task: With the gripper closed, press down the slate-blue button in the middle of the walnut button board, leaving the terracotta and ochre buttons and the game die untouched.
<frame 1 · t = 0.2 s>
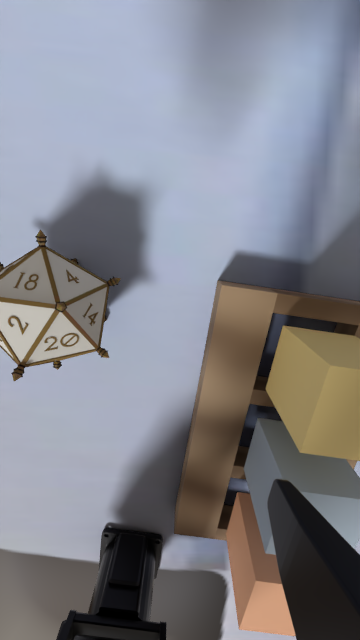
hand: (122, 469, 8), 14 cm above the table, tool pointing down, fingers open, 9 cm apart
button board: (269, 421, 24), on the table
game die: (76, 296, 21), on the table
button ochre: (331, 385, 15), point 6 cm above the table, slide at 0.0 cm
button terracotta: (270, 557, 20), point 6 cm above the table, slide at 0.0 cm
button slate: (297, 482, 18), point 6 cm above the table, slide at 0.0 cm
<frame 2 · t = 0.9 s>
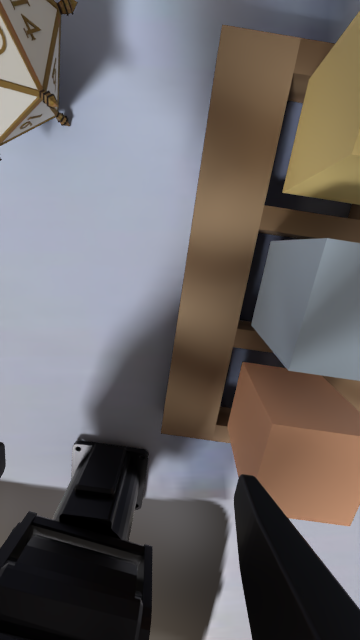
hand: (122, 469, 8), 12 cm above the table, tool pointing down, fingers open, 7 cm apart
button board: (282, 283, 18), on the table
game die: (28, 92, 16), on the table
button terracotta: (288, 431, 14), point 6 cm above the table, slide at 0.0 cm
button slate: (329, 301, 12), point 6 cm above the table, slide at 0.0 cm
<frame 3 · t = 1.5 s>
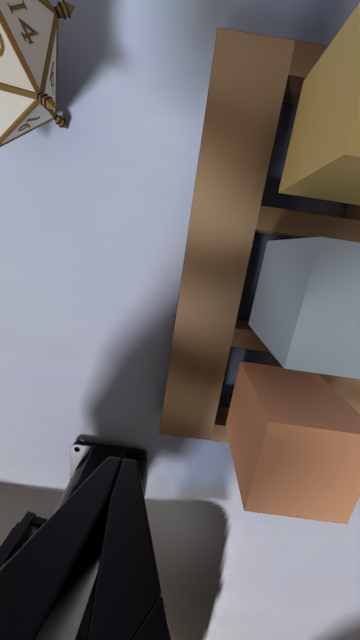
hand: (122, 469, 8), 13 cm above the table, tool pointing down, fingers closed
button board: (279, 283, 18), on the table
game die: (26, 95, 16), on the table
button terracotta: (285, 430, 14), point 6 cm above the table, slide at 0.0 cm
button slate: (325, 300, 12), point 6 cm above the table, slide at 0.0 cm
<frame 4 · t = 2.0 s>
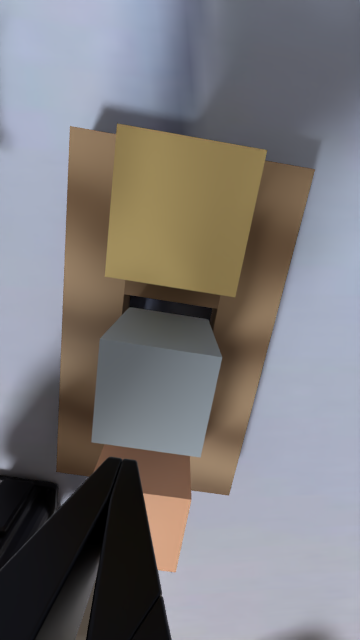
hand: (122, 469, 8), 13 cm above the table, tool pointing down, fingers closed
button board: (166, 334, 20), on the table
button ochre: (181, 225, 12), point 6 cm above the table, slide at 0.0 cm
button terracotta: (143, 480, 16), point 6 cm above the table, slide at 0.0 cm
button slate: (159, 370, 14), point 6 cm above the table, slide at 0.0 cm
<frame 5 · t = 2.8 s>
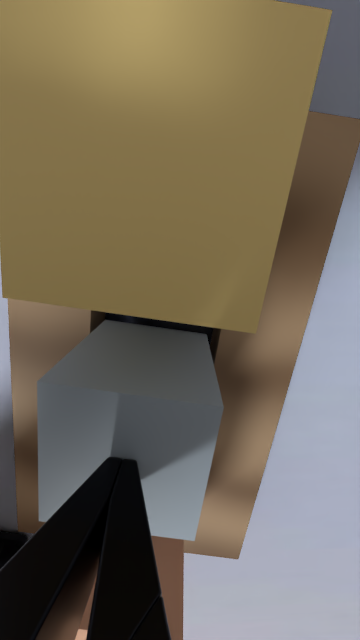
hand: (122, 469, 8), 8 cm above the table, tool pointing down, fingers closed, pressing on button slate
button board: (155, 356, 15), on the table
button ochre: (160, 203, 7), point 6 cm above the table, slide at 0.0 cm
button terracotta: (119, 569, 11), point 6 cm above the table, slide at 0.0 cm
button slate: (140, 407, 10), point 5 cm above the table, slide at 1.2 cm, touching gripper
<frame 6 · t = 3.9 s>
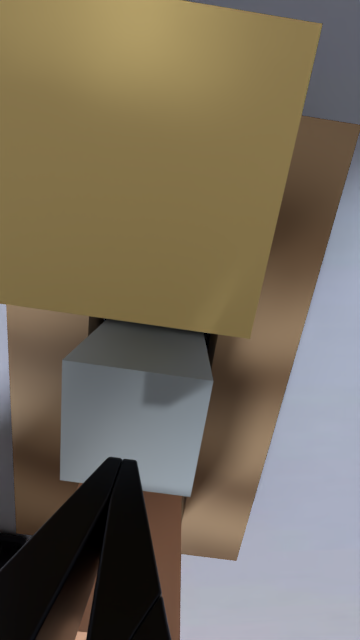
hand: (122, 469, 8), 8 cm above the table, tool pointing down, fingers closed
button board: (153, 358, 15), on the table
button ochre: (156, 208, 7), point 6 cm above the table, slide at 0.0 cm
button terracotta: (117, 570, 11), point 6 cm above the table, slide at 0.0 cm
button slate: (144, 389, 12), point 3 cm above the table, slide at 2.8 cm
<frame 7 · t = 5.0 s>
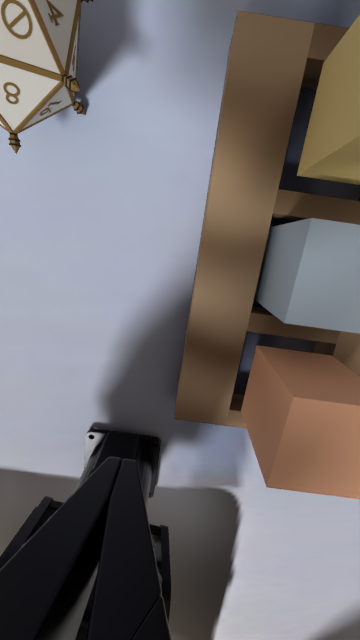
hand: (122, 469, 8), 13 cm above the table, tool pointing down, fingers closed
button board: (294, 269, 19), on the table
game die: (45, 82, 16), on the table
button terracotta: (304, 411, 15), point 6 cm above the table, slide at 0.0 cm
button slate: (317, 274, 15), point 3 cm above the table, slide at 2.8 cm
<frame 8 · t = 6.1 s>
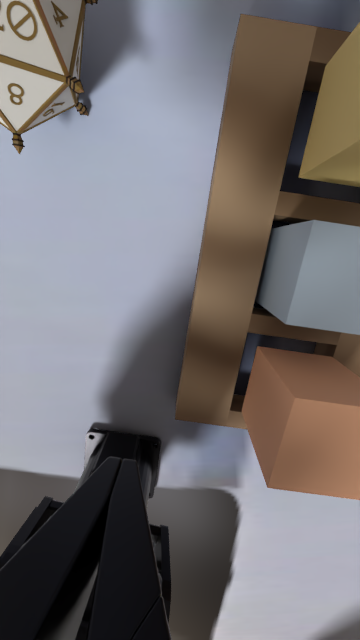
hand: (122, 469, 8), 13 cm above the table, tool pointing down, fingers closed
button board: (295, 270, 19), on the table
game die: (48, 83, 16), on the table
button terracotta: (304, 412, 15), point 6 cm above the table, slide at 0.0 cm
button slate: (318, 275, 15), point 3 cm above the table, slide at 2.8 cm
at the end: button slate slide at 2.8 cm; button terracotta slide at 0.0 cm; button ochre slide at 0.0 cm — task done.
